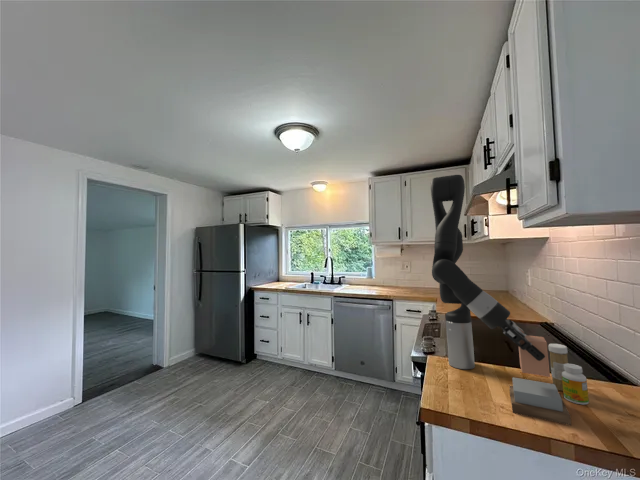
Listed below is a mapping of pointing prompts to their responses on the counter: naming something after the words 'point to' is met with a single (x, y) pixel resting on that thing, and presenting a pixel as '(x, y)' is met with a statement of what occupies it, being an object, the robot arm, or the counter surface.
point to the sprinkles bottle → (558, 363)
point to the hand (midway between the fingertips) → (540, 354)
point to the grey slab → (537, 394)
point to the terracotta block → (531, 363)
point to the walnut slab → (540, 411)
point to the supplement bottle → (574, 384)
